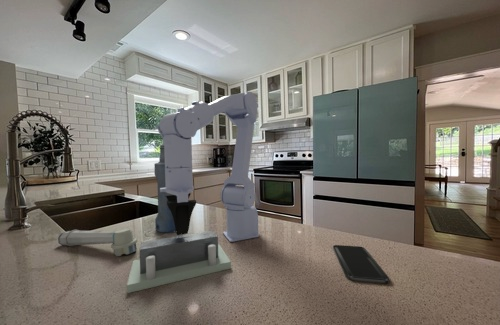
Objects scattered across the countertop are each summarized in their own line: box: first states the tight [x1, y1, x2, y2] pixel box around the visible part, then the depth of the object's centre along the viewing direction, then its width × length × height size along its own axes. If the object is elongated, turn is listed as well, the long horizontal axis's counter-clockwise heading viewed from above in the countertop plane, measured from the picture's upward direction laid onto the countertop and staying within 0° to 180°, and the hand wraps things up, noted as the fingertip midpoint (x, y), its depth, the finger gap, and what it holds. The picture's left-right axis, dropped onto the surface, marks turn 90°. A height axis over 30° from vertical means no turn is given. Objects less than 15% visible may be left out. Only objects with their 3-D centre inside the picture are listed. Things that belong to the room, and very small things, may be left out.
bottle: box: [153, 143, 176, 233], centre depth 72 cm, size 10×10×30 cm
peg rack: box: [126, 231, 232, 294], centre depth 47 cm, size 20×10×6 cm, turn 113°
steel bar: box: [139, 230, 219, 274], centre depth 47 cm, size 16×4×5 cm, turn 113°
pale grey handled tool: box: [57, 228, 138, 257], centre depth 57 cm, size 5×7×25 cm
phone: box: [332, 244, 390, 285], centre depth 48 cm, size 8×1×15 cm
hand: (180, 228), depth 46 cm, fingers open, 7 cm apart
